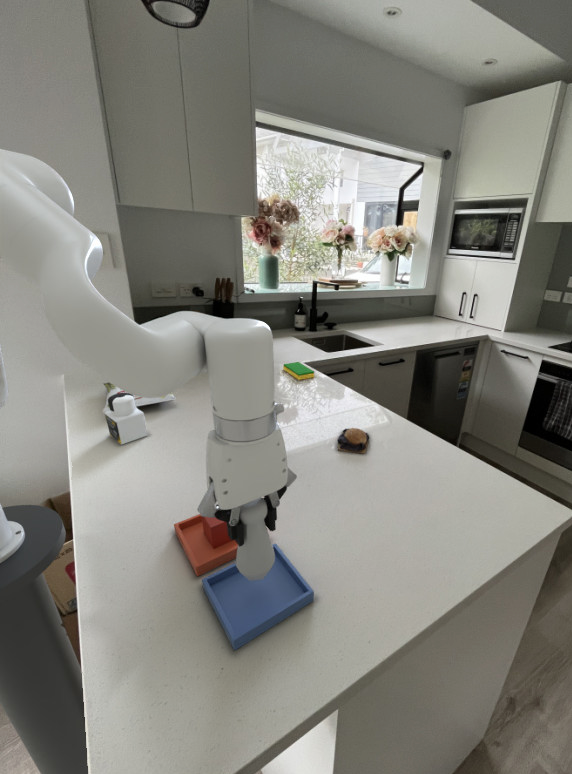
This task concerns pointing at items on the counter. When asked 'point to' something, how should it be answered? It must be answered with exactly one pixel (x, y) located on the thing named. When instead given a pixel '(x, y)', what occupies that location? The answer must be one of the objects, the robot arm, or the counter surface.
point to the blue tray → (256, 598)
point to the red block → (215, 531)
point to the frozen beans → (138, 400)
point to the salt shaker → (255, 542)
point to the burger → (353, 440)
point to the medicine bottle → (125, 418)
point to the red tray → (202, 546)
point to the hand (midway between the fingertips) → (253, 531)
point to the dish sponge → (298, 370)
